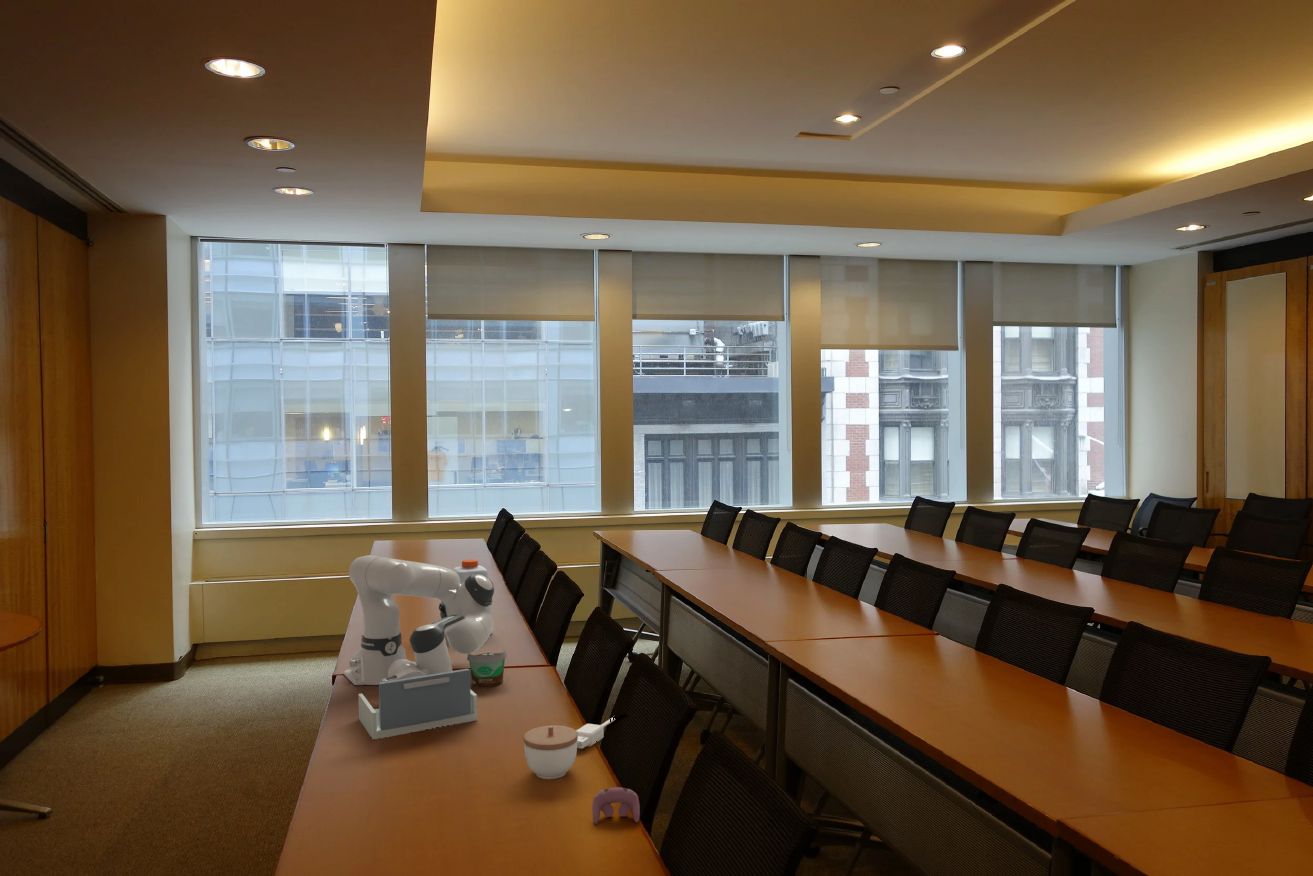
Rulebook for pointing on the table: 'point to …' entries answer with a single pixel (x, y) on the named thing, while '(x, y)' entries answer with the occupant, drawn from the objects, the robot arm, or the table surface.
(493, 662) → the food container
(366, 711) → the tray
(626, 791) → the video game controller
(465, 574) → the plastic bottle
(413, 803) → the table surface
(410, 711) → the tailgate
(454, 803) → the table surface
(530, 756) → the lidded bowl
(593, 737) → the charging cable
